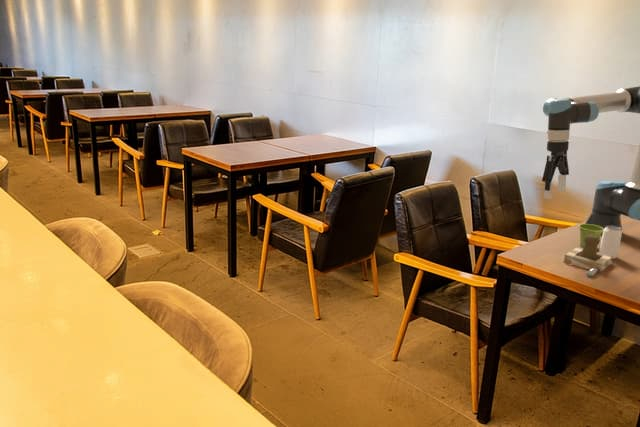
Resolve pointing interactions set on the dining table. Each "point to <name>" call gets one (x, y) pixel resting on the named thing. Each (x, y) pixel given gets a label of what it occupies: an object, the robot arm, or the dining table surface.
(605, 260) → the birch socket block
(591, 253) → the olive rounded piece
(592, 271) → the steel rod
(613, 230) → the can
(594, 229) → the plant pot
